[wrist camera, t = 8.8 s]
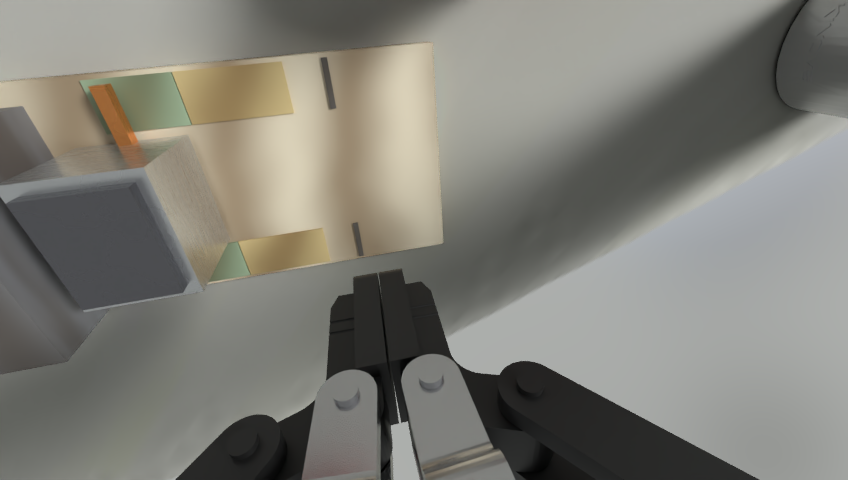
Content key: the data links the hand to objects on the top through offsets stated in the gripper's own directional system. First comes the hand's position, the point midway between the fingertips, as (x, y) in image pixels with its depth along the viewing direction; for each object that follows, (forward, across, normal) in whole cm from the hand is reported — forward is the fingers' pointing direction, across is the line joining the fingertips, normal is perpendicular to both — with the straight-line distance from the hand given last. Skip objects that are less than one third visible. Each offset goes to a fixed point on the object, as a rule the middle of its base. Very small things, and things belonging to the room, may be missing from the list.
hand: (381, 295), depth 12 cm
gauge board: (+12, +7, 0) cm, 14 cm away
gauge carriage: (+11, +11, 0) cm, 15 cm away
